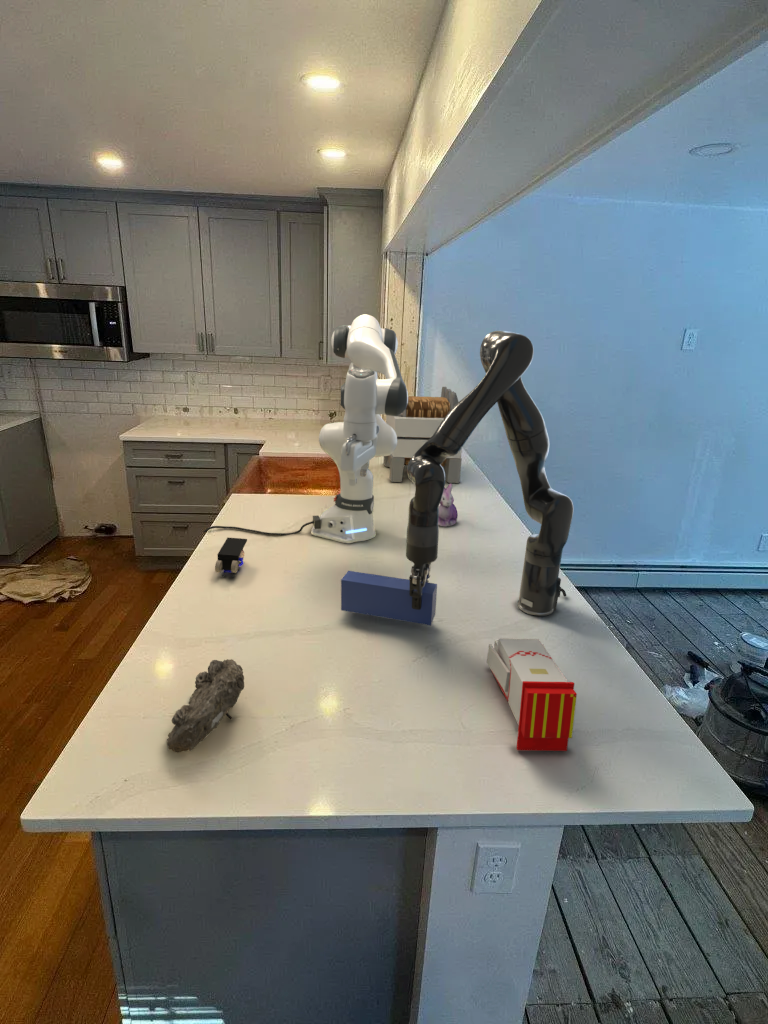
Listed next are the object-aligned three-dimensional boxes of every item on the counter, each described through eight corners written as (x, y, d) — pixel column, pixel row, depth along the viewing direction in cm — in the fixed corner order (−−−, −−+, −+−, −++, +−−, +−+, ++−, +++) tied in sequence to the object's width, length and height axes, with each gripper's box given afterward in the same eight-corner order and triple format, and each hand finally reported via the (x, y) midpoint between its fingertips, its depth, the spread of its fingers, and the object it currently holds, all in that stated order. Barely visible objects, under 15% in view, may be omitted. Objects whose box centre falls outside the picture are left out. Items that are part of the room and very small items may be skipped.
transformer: (382, 463, 289) (386, 382, 275) (445, 464, 293) (451, 384, 279) (390, 482, 257) (394, 392, 243) (460, 483, 261) (468, 394, 247)
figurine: (442, 528, 206) (446, 489, 201) (428, 519, 214) (431, 481, 209) (464, 525, 210) (468, 486, 205) (449, 516, 218) (452, 479, 213)
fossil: (192, 660, 117) (244, 628, 112) (224, 691, 120) (276, 661, 115) (142, 746, 98) (202, 712, 93) (182, 779, 101) (242, 748, 96)
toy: (536, 621, 128) (586, 689, 98) (531, 676, 131) (578, 758, 101) (482, 620, 127) (517, 688, 98) (478, 675, 130) (511, 757, 101)
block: (341, 610, 144) (340, 579, 141) (348, 600, 149) (348, 570, 146) (431, 625, 138) (432, 594, 135) (435, 614, 143) (437, 583, 140)
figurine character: (238, 584, 162) (249, 557, 175) (236, 562, 158) (247, 536, 172) (215, 584, 161) (227, 556, 175) (212, 561, 158) (225, 535, 171)
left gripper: (358, 440, 142) (357, 492, 147) (381, 425, 161) (379, 472, 166) (335, 437, 144) (334, 489, 149) (360, 423, 162) (359, 470, 167)
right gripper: (431, 553, 127) (428, 619, 132) (443, 530, 140) (439, 591, 145) (399, 549, 128) (397, 614, 134) (413, 527, 141) (411, 587, 147)
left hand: (358, 480), depth 157 cm, fingers open, 8 cm apart
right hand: (419, 602), depth 140 cm, fingers closed on block, 5 cm apart
